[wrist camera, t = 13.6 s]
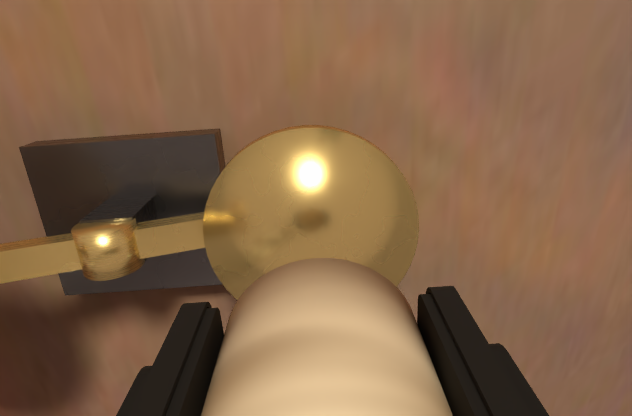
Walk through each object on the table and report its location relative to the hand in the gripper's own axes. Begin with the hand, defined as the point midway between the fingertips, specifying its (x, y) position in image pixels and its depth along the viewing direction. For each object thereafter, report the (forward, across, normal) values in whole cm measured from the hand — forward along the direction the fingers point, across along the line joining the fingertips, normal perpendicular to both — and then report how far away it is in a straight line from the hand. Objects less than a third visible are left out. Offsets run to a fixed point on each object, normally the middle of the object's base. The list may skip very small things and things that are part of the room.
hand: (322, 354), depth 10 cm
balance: (+11, +8, 0) cm, 13 cm away
